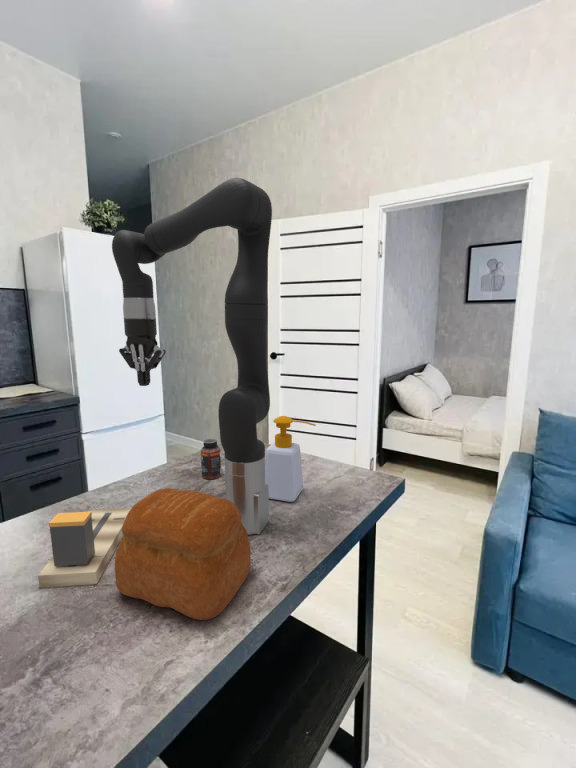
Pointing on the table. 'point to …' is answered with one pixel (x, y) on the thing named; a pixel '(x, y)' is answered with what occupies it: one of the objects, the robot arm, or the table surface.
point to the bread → (183, 552)
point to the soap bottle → (284, 464)
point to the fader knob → (72, 538)
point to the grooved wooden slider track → (105, 544)
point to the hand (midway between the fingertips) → (144, 385)
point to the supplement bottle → (211, 459)
